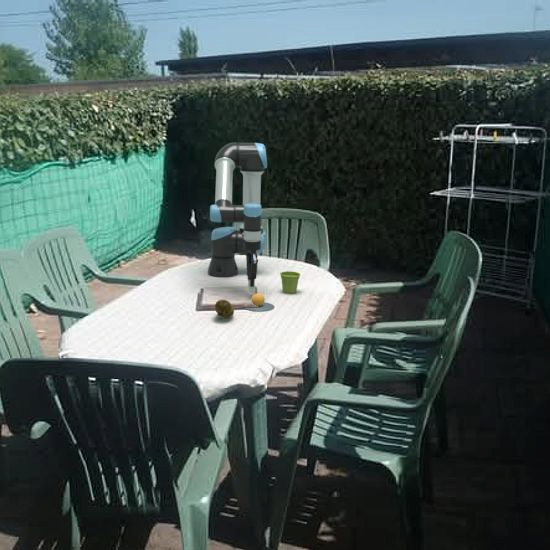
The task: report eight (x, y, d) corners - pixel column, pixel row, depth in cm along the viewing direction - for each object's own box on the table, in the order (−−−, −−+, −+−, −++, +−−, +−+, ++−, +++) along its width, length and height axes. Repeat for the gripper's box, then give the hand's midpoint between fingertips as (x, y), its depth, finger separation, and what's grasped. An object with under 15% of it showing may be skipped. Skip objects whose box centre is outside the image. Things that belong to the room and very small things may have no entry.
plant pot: (300, 290, 271) (301, 271, 269) (299, 295, 262) (300, 276, 260) (280, 288, 272) (280, 270, 269) (278, 294, 263) (279, 275, 260)
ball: (249, 307, 244) (248, 295, 246) (261, 308, 247) (260, 295, 249) (255, 304, 240) (254, 291, 241) (267, 304, 242) (266, 291, 244)
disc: (237, 304, 246) (237, 304, 246) (264, 300, 253) (264, 300, 253) (252, 313, 235) (252, 312, 235) (280, 309, 242) (280, 308, 242)
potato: (241, 314, 234) (241, 295, 232) (227, 324, 222) (227, 303, 220) (222, 311, 237) (222, 292, 235) (207, 320, 225) (207, 300, 223)
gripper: (240, 237, 256) (239, 289, 262) (246, 243, 244) (246, 297, 249) (257, 237, 258) (256, 288, 264) (264, 242, 246) (263, 296, 251)
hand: (251, 293), depth 256 cm, fingers closed
